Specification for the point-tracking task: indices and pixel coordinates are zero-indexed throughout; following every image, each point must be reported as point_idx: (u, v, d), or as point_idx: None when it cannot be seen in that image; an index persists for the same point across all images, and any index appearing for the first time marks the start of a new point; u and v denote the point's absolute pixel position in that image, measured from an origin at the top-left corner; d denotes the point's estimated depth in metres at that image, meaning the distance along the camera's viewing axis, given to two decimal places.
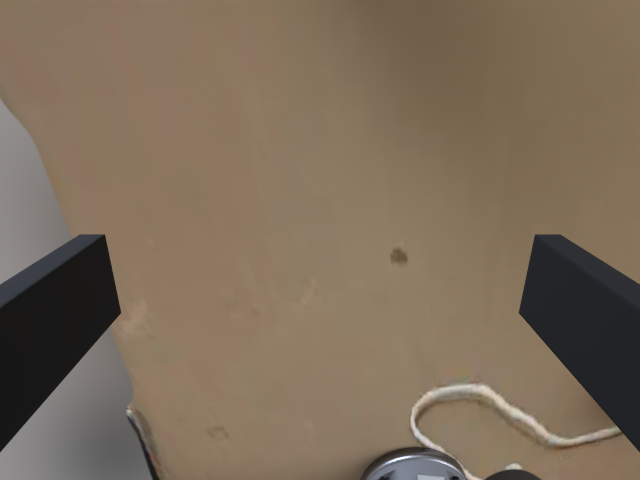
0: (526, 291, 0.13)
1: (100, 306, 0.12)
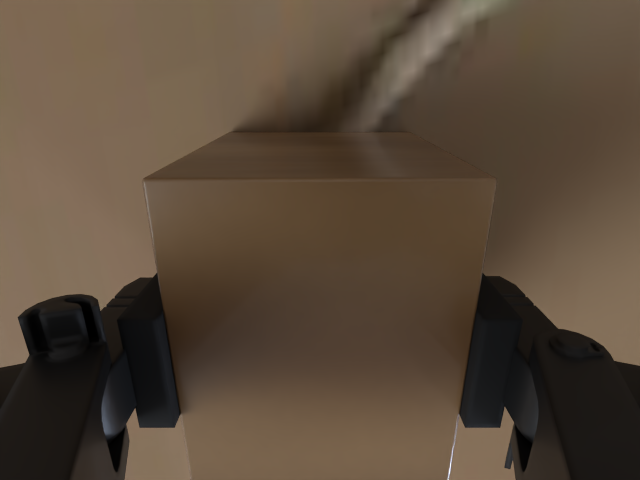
0: None
1: None
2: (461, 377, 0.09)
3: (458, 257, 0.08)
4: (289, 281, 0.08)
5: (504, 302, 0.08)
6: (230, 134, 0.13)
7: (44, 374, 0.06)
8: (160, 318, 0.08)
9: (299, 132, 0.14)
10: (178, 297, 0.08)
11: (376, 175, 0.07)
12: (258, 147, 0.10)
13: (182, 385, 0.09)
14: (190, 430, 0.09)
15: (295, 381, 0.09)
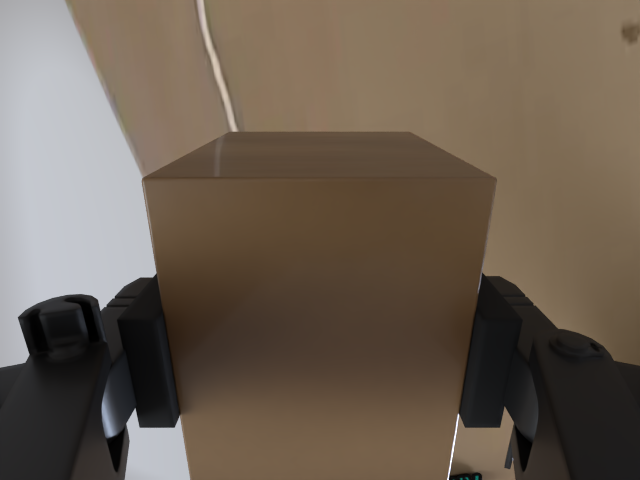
0: None
1: None
2: (461, 376, 0.09)
3: (458, 257, 0.08)
4: (288, 280, 0.08)
5: (504, 302, 0.08)
6: (230, 134, 0.13)
7: (44, 374, 0.06)
8: (160, 318, 0.08)
9: (299, 132, 0.14)
10: (177, 297, 0.08)
11: (376, 174, 0.07)
12: (258, 147, 0.10)
13: (182, 385, 0.09)
14: (190, 430, 0.09)
15: (294, 380, 0.09)
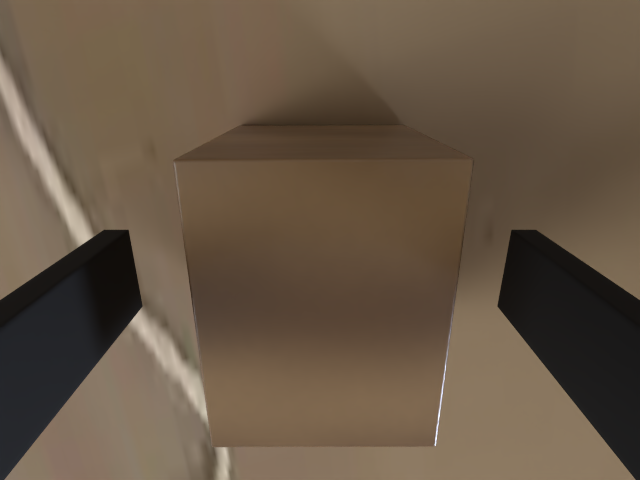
0: (503, 285, 0.13)
1: (124, 299, 0.12)
2: (446, 334, 0.10)
3: (442, 227, 0.09)
4: (297, 248, 0.09)
5: None
6: (240, 127, 0.14)
7: None
8: None
9: (303, 125, 0.15)
10: (201, 263, 0.09)
11: (371, 156, 0.08)
12: (267, 137, 0.12)
13: (203, 343, 0.10)
14: (210, 384, 0.10)
15: (302, 339, 0.10)
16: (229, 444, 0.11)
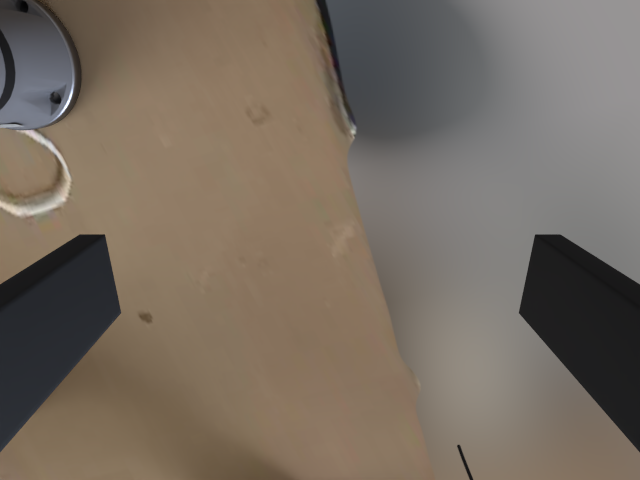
0: (526, 291, 0.13)
1: (100, 306, 0.12)
2: None
3: None
4: None
5: None
6: None
7: None
8: None
9: None
10: None
11: None
12: None
13: None
14: None
15: None
16: None
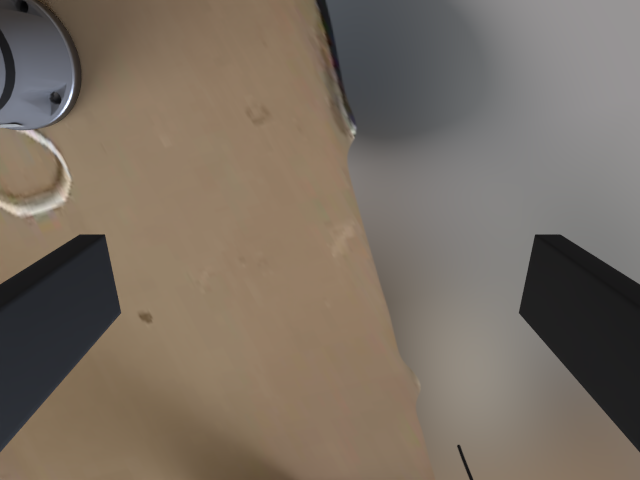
0: (526, 291, 0.13)
1: (100, 306, 0.12)
2: None
3: None
4: None
5: None
6: None
7: None
8: None
9: None
10: None
11: None
12: None
13: None
14: None
15: None
16: None
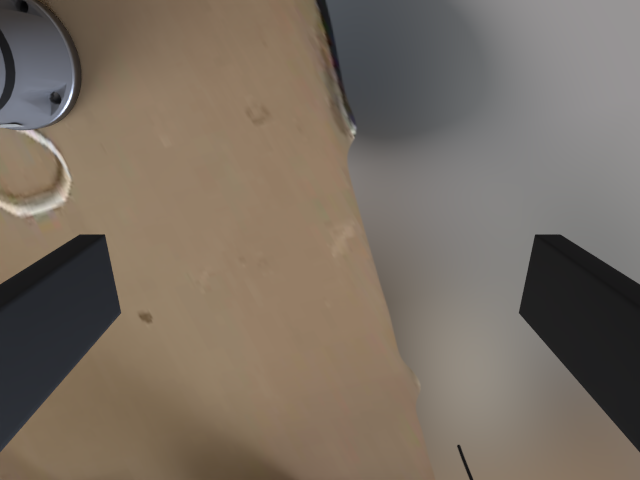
0: (526, 291, 0.13)
1: (100, 306, 0.12)
2: None
3: None
4: None
5: None
6: None
7: None
8: None
9: None
10: None
11: None
12: None
13: None
14: None
15: None
16: None
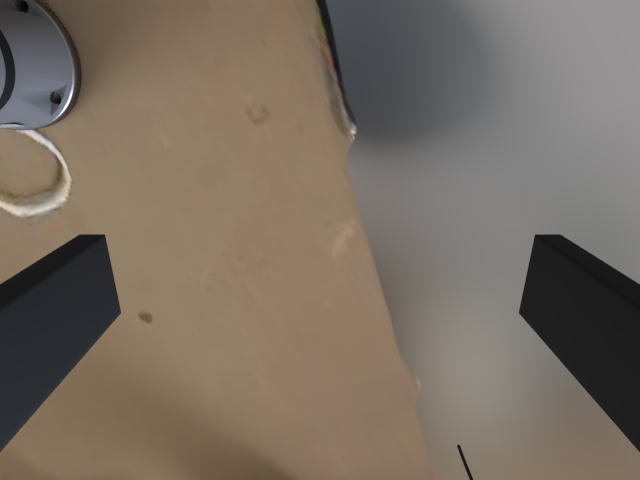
0: (526, 291, 0.13)
1: (100, 306, 0.12)
2: None
3: None
4: None
5: None
6: None
7: None
8: None
9: None
10: None
11: None
12: None
13: None
14: None
15: None
16: None
